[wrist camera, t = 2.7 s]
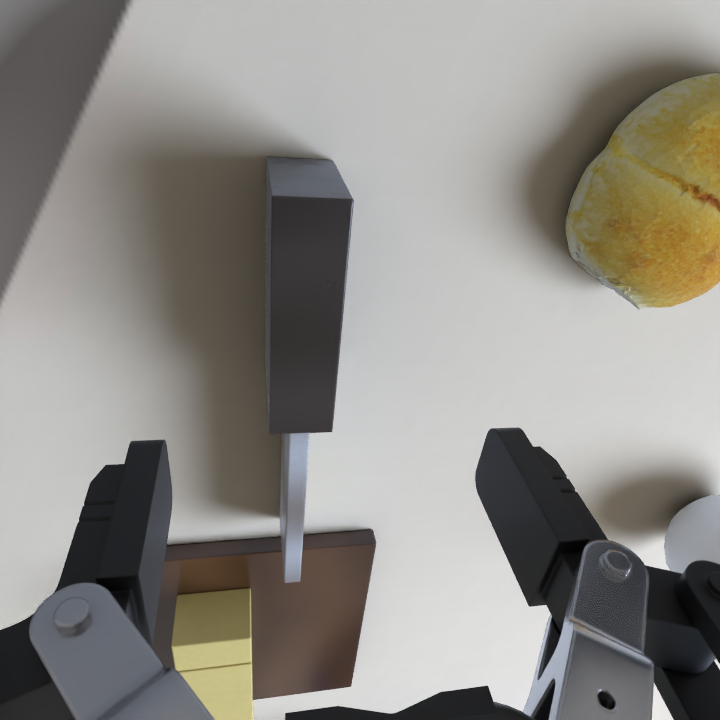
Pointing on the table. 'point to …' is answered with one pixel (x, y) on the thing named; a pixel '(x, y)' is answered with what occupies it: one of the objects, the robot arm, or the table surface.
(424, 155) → the table surface
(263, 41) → the table surface
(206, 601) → the butter pat
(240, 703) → the butter
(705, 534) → the seamed sphere
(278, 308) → the knife
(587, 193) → the bread roll
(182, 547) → the board
